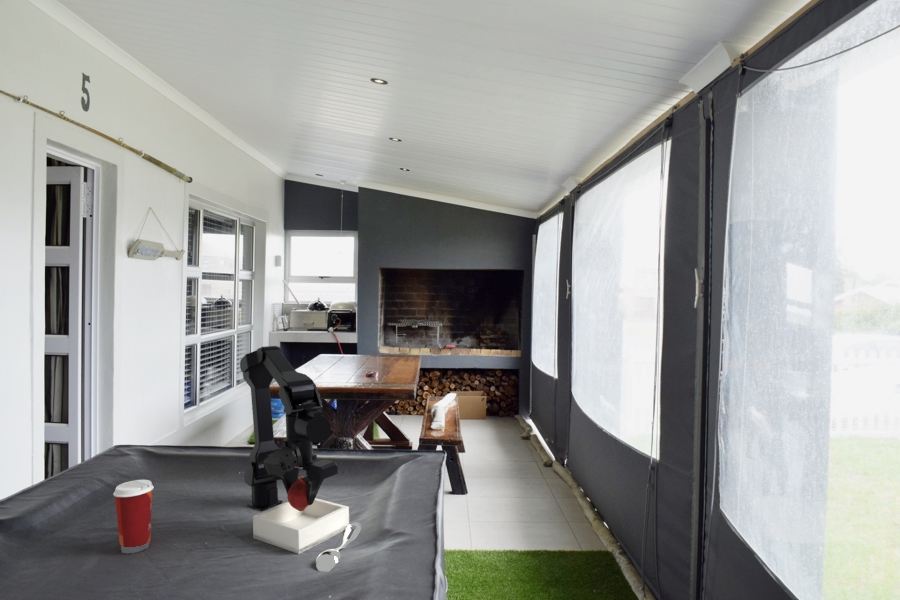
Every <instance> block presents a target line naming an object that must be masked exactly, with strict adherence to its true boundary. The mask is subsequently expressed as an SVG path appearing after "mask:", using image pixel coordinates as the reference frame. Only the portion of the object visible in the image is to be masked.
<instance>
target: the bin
mask: <svg viewBox="0 0 900 600" xmlns="http://www.w3.org/2000/svg"><path fill="white" fill-rule="evenodd" d="M348 525H350V507H349V506H346V505H344V504H340V503H336V502H332V501H329V500H325V499H324V500H323V499H320V498H317V497H315V500H314V502H313V504H312V505H308V506H307V507H306V508H305V509H304V510H303V511H298V510H296V509H295V508H293V507H292V506H291V505H290V503H289V502H288V501H287V502H284V503H280V504H278V505H276V506H273V507H271V508H268V509H266V510H263V511H262V512H259V513H256V514H255V515H253V516H252V529H253V533H252V534H253V536H252V537H253V539H255V540H258V541H259V542H263V543H265V544H269V545H271V546H274V547H276V548H280V549H283V550H286V551H289V552H291V553H295V554H297V555H300V554H302V553H305V552H307V551H308V550H310V549H312V548H314V547H315V546H318V545H319V544H322V543H323V542H326V541H328V540H329V539H331V538H333V537H334V536H338V535H339V534H340V533H343V532H345V530H346V528H347V527H348Z"/></svg>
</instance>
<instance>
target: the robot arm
mask: <svg viewBox="0 0 900 600" xmlns="http://www.w3.org/2000/svg"><path fill="white" fill-rule="evenodd" d="M239 367H240V371H241V373H242V377H243V380H244V382H245V383H246V384H247V385H248V386H249V388H250V396H251V409H252V420H253V424H252V425H253V435H254V446H253V447H252V449H251V452H250V453H249V456H248V457H249V463H248V465H247V466H246V469H245V472H244V474H243V477H244V483H245V484H247V485H248V486H249V487H251V501H250V502H249V503H247V504H246V506H247V507H248V506H249V507H248V508H251V507H252V509H255V510H258V511H262V512H264V511H267V510H269V509H272V508H274V507H277V506H279V505H281V504H283V500H282V499H279V497H278V496H279V489H278V481H282V483H283V487H284V489H285V493H286V494H287V495H288V491H289V489H290V487H291V485H292V484H293V483H294V482H296V481H297V479H298V478H299V473H300V470H302V471H305V474H306V476H303V478H301V479H302V480H303V481H304V482H305V483H306V492H307V502H308V505H312V504H313V502H314V500H315V498H317V494H318V492H319V490H320V488H321V486H322V484H323V482H324V480H326V479H328V478H330V477H334V476H335V475H337V474H338V473H339V470H338V463H337V462H336V461H333V460H329V459H325V458H323V459H320V460H318V461H315V460H317V459H318V458H317V455H318V454H315V453H313V443H314V444H319V443H322V442H324V441H325V440H326V439H328V437H329V436H330V433H331V430H332V426H331V423H330V421H329V419H328V418H327V417H326V416H323V409H324V407H323V399H322V396H321V394H320V392H319V390H318V387H317V385H316V383H315V382H314V380H313V379H312V378H311V377H310V376H308V375H307V374H306V373H302V372H298V371H297V370H296V369H295V368H294V367H293V365H292V364H291V363H290V361H289V360H288V359H287V358H286V357H285V356H284V354H283V353H282V349H281V347H280V346H277V345H268V346H261V347H258V348H257V349H256V350H253V351H251V352H249V353H245V355H244V356H243V357H242V358H241V359H240V361H239ZM273 380H274V381H275V382H276V384H278V386H279V388H278V389H279V391H278V397H279V399H280V402H281V403H282V406H283V413H285V436H286V437H285V439H282V441H281V445H280V447H279V446H278V445H277V444H276V442H275V436H274V435H275V434H274V424H273V423H274V422H273V413H272V412H273V410H272V399H271V398H272V397H271V389H270V388H271V387H270V385H271V384H272V382H273ZM313 461H314V462H313Z"/></svg>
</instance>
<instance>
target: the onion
mask: <svg viewBox="0 0 900 600" xmlns="http://www.w3.org/2000/svg"><path fill="white" fill-rule="evenodd" d="M303 477H304V476H303V475H298V479H297V481H296V482H294V483H293V484H292V485H291V487H290V489H289V491H288V494H287V495H286V497H287V502H289V503H290V505H291V506H292V507H293V508H295V509H296V510H298V511H303V510H304V509H305V508H306V507H307V506H308V502H307V492H306V483H305V482H304V481H303V480H302V479H301V478H303Z"/></svg>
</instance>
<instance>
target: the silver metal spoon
mask: <svg viewBox="0 0 900 600" xmlns="http://www.w3.org/2000/svg"><path fill="white" fill-rule="evenodd" d="M353 527H356V528H354V530H353V531H352V529H351V528H353ZM361 529H362V525H361V523H359V522H357V521H355V522H352V523H349V525H348V527H347V528H346V530H345V531H344V533H343V537H342V543H341V545H340V546H338V547H336V548H330V549H326V550H324V551H322V552H320V553H319V554H318V556H317V557H316V559H315V566H316V569H317V571H319V572H326V573H327V572H331V571H332V569H333V568H334V567H335V566H336V565H337V564H338V562H339V560H340V559H341V552H340V550H341V549H345V548H346V547H347V546H348V545H349V544H350V543H351V542H352V541H354V540H356V539H357V537H358V536H359V534H360V532H361ZM351 532H352V533H351ZM350 534H351V536H350V537H349V535H350ZM348 537H349V538H348Z"/></svg>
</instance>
